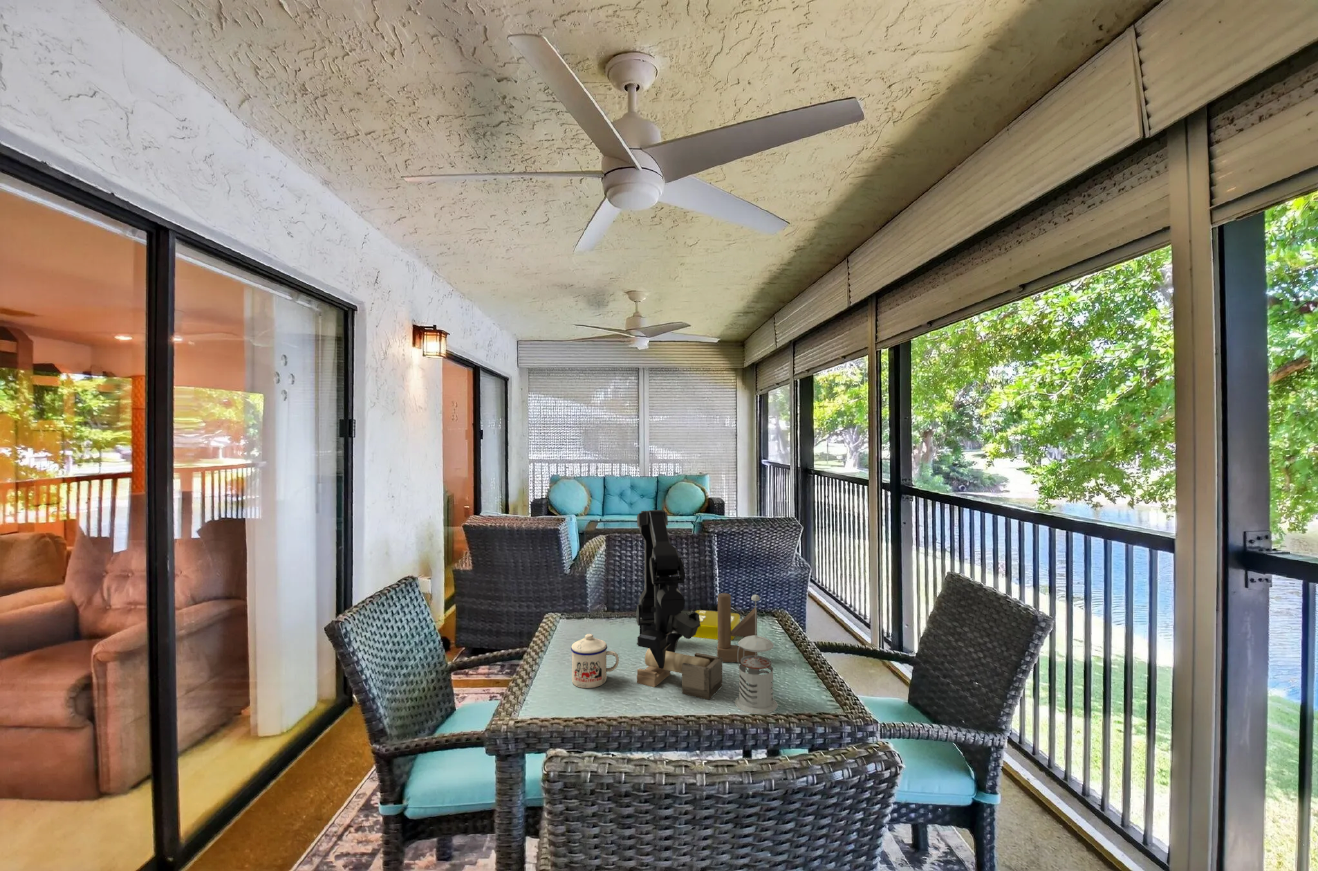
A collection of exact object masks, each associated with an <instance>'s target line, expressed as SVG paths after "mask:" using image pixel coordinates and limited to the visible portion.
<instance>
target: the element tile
mask: <svg viewBox="0 0 1318 871" xmlns="http://www.w3.org/2000/svg"><path fill="white" fill-rule="evenodd" d="M694 612H696V613H698V614H699V619H700V627H698V629H697V632H696V635H694V636H692V637H691V638H698V639H707V640H716V641H718V611H715V610H714V611H713V610H702V609H699V610H698V609H697V610H695V611H694ZM740 622H741V615H740V614H739V613H736V612H735V613H734V612H731V631H732V630H733V629H734V628H735V627H736V626H737V625H738V624H739V623H740ZM735 638H736V636H731V641H733V640H734V639H735Z"/></svg>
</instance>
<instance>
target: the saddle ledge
mask: <svg viewBox="0 0 1318 871" xmlns="http://www.w3.org/2000/svg"><path fill="white" fill-rule="evenodd" d="M636 672H637V673H636V674H637V675H636V684H638V685H639V684H640V685H643V686H648V687H652V688H655V687H657V686H658V685H659V684H660V683H662V682H663V681H664V680H665V679H667V677H669V676H670V675H671V671H669V670H664V669H660V668H655V667H650V666H647V667H646V668H645V669H643V668H638V669H637V671H636Z"/></svg>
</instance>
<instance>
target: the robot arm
mask: <svg viewBox="0 0 1318 871" xmlns="http://www.w3.org/2000/svg"><path fill="white" fill-rule="evenodd" d="M668 519H669V518H668V512H666V511H665V510H662V509H651V510H641V511H640V512H639V513H638V514H637V516H636V525H637V527H638V531H639V533H640V534H641V537H642V538H643V540H644V589H643V591H642V593H641V594H640V596H639V603H638V604H637V605H636V612H635V616H636V617H635V619H636V623H637V626H639V635H638V636H637V637H636V638H637V639H636V640H637V642H636V645H637V647H640V648H646V649H650V650H651V652H652V654H653V656H654V658H655V660H656V662H657V664H658V666H659V668H661V669H663V668H664V663H665V654H666V651H670V652H675V653H676V650H677V646H678V643H679V640H680V639H681V638H682V637H683V638H684V639H687V640H690V639H692V638H693V637H692V636H694V635H696V632H697V629H698V627H700V619H699V614H698V613H696V612H695V611H693V612H691V613H690V614H688V613H685V614H684V613H683V612H682V611H683V610H684V608H685V605H686V599H685V597H684V595H683V594H682V592H681V591H680V589H679V584H685V580H684V579H685V578H686V573H685V572H686V571H685V567H684V562H683V560H682V557H681V556H679V553H678V551H677V548H676V547H675V546H673V545H672V544H671V542H670V537H669V534H668V529H667V526H668V525H669V524H668V523H669V521H668Z"/></svg>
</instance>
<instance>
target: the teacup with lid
mask: <svg viewBox="0 0 1318 871" xmlns="http://www.w3.org/2000/svg"><path fill="white" fill-rule="evenodd" d="M570 650H571V681H572V684H573V685H574V686H576V687H577V688H580V689H581V688H582V689H592V688H598V687H600V686H602V685H604V684H605V683H606V682H607V673H608V672H609V673H610V672H613V671H615V669H616V668H617V667H618V665H619V661H620V657H619V654H618V653H617V652H615V651H612V650H608V644H607V643H606V641H605V640H602V639H599V638H596V637H594V635H593V633H592V634H591V633H587V634H585V636H584V638H582V639H579V640H577V641H575V642H573V643H572V645H571V647H570ZM607 650H608V651H607ZM607 656H613V657H615V660H616V661H615V663H614V665H613V666H611V667H607Z"/></svg>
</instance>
